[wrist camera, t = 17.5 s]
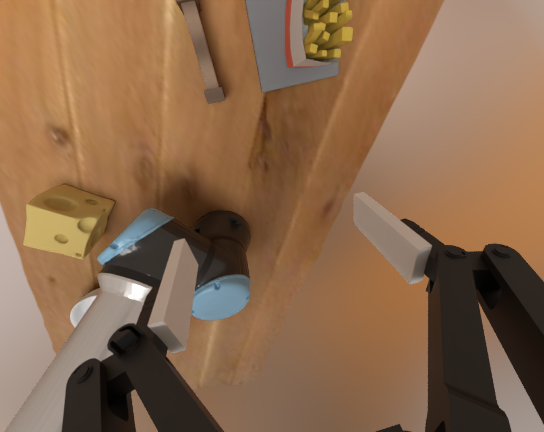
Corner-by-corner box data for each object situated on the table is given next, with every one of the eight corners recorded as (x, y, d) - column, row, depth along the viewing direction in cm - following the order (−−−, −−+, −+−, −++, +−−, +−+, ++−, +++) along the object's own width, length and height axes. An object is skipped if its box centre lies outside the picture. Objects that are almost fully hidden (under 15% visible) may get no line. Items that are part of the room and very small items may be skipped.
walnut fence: (225, 97, 44) (225, 100, 38) (210, 101, 43) (208, 104, 37) (197, -6, 35) (191, -23, 30) (178, -2, 35) (169, -19, 29)
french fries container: (282, 68, 42) (314, 60, 27) (283, -10, 37) (324, -75, 21) (305, 68, 43) (349, 60, 28) (309, -9, 37) (367, -71, 22)
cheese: (116, 200, 50) (95, 224, 42) (105, 235, 54) (83, 263, 46) (61, 180, 46) (24, 202, 37) (52, 219, 50) (17, 247, 41)
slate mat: (337, 75, 45) (338, 75, 45) (262, 92, 44) (262, 92, 44) (335, -38, 36) (336, -39, 36) (241, -19, 36) (241, -21, 35)
